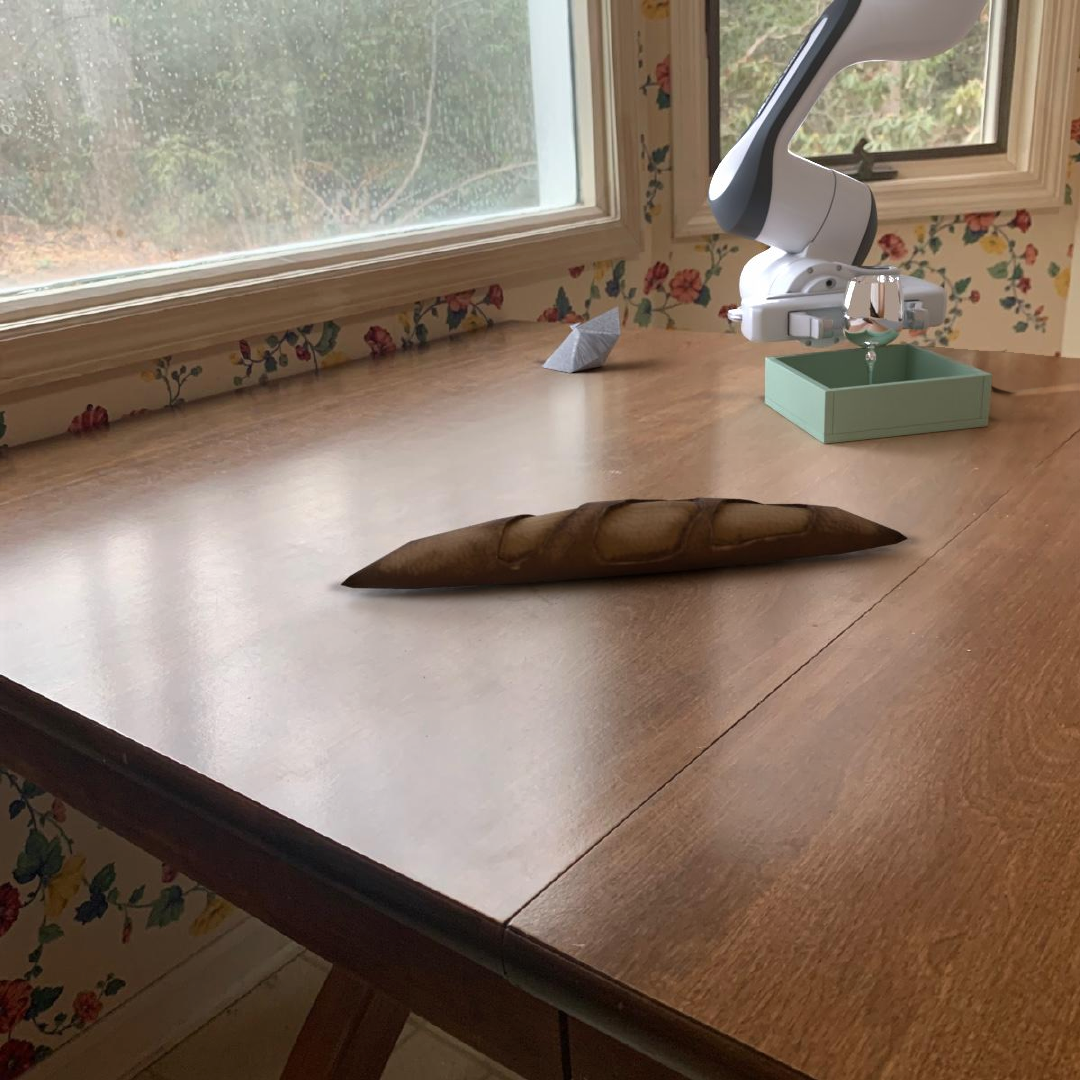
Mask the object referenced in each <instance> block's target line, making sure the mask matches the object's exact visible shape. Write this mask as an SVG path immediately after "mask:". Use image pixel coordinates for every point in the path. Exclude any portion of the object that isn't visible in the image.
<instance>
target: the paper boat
mask: <svg viewBox="0 0 1080 1080" xmlns="http://www.w3.org/2000/svg"><path fill="white" fill-rule="evenodd" d="M619 310H620V309H619V306H615V307H614V308H612V309H610V310H607V311H606V312H604V313H601V314H599V315H598V316H596V317H594V318H592V319H590V320H588V321H586V322H584V323H582V321H579V322H577V323H575V324H571V325H569V327H570V329H571V330H572V331H571V332H570V333H569V334H568V335H567V337H566V338H565V339H564V340H563V341H562V342H561V343H560V345H559V346H558V347H557V348H556V349H555V351H554V352H553V353H551V355H550V356H549V357H548V358H547V360H546V361H545V362H544V363H543V364H542V365H541V368H544V369H549V370H554V371H558V372H564V373H568V374H572V373H576V372H582V371H585V370H592V369H595V368H600V367H604V364H605V363H606V361H607V359H608V357H609V356H610V354H611V352H612V351H613V349H614V347H615V346H616V344H617V341H618V340H619V338H620V336H621V323H620V311H619Z"/></svg>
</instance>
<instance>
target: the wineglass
mask: <svg viewBox="0 0 1080 1080" xmlns="http://www.w3.org/2000/svg"><path fill="white" fill-rule="evenodd" d="M904 320H905V301H904V294H903V288H902V283H901V279H900V278H899V277H894V276H861V277H854V278H851V279H849V280H848V283H847V286H846V289H845V293H844V297H843V302H842V307H841V327H842V332H843V334H844V335H845V337H846V338H847V339H848V340H847V341H848V342H850V343H852V344H853V345H856V346H858V347H859V348H867V349H868V352H867V353H866V357H865V363H866V367H867V385H872V374H873V369H874V365H875V362H876V354H875V352H874V349H875V348H878V347H882V346H886V345H889V344H891V343H892V342H894V341H895V340H897V338H898V337H899V336H900V334H901V333H902V331H903V330H902V328H903V325H904Z"/></svg>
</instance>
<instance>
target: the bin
mask: <svg viewBox="0 0 1080 1080" xmlns="http://www.w3.org/2000/svg"><path fill="white" fill-rule="evenodd" d="M867 352H868V349H867V348H863V347H856V348H846V349H836V350H826V351H824V350H823V351H815V352H805V353H795V354H786V355H774V356H766V357H765V358H764V359H765V361H764V370H765V371H764V404H765V405H766V406H768V407H769V408H771V409H772V410H774V411H775V412H776V413H778V414H779V415H781V416H782V417H784V418H785V419H787V420H788V421H790V422H791V423H793V424H794V425H796V426H797V427H798V428H799V429H801V430H803V431H804V432H806V433H807V434H808V435H810V436H811V437H813V438H814V439H816V440H817V441H819V442H820V443H822V444H824V445H827V444H834V443H835V444H836V443H846V442H855V441H863V440H865V441H866V440H873V439H882V438H883V439H884V438H892V437H900V436H910V435H918V434H919V435H920V434H929V433H938V432H947V431H948V432H949V431H956V430H965V429H966V430H967V429H975V428H984V427H985V428H986V427H989V421H990V419H989V418H990V409H991V394H992V383H993V373H990V372H988V371H984V370H982V369H979V368H978V367H975V366H972V365H969V364H967V363H964V362H962V361H959V360H956V359H954V358H951V357H948V356H946V355H943V354H941V353H938V352H936V351H933V350H931V349H928V348H925V347H923V346H920V345H918V344H915V343H912V342H908V343H896V344H890V345H889V344H887V345H884V346H882V347H878V348H875V349H874V352H875V354H876V362H875V365H874V369H873V374H872V385H867V367H866V363H865V357H866V353H867Z"/></svg>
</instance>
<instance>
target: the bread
mask: <svg viewBox="0 0 1080 1080" xmlns="http://www.w3.org/2000/svg"><path fill="white" fill-rule="evenodd" d="M907 540H909V538H908V536H906V535H904V534H903V533H901V532H900V531H898V530H896V529H894V528H891V527H889V526H885V525H883V524H881V523H878V522H876V521H873V520H870V519H868V518H866V517H863V516H861V515H858V514H855V513H853V512H850V511H847V510H845V509H842V508H840V507H837V506H832V505H831V506H830V505H820V504H819V505H818V504H809V503H762V502H758V501H755V500H751V499H743V498H730V497H729V498H728V497H727V498H726V497H701V496H699V497H698V496H697V497H695V498H685V499H684V498H683V499H672V500H669V499H663V498H662V499H659V498H658V499H656V498H655V499H651V498H649V499H648V498H647V499H646V498H643V499H641V498H640V499H639V498H626V499H625V498H624V499H614V500H613V499H612V500H602V501H601V500H600V501H590V502H589V501H588V502H584V503H582V504H580V505H579V506H578V507H576V508H571V509H565V510H559V511H555V512H550V513H544V514H540V515H536V514H529V513H525V514H524V513H523V514H517V515H511V516H505V517H501V518H496V519H491V520H487V521H485V522H484V521H483V522H480V523H476V524H471V525H468V526H464V527H460V528H457V529H452V530H448V531H444V532H440V533H437V534H433V535H432V534H431V535H428V536H425V537H420V538H416V539H413V540H409V541H408V542H406V543H405V544H402V545H401V546H399V547H397V548H396V549H394V550H392V551H390V552H389V553H387V554H385V555H383V556H381V557H380V558H378V559H376V560H374V561H372V562H371V563H370V564H368V565H366V566H364V567H363V568H361V569H359V570H357V571H356V572H353V573H351V574H350V575H349V576H348V577H347V578H345V580H343V582H341V583H340V586H343V587H347V588H350V589H371V590H372V589H375V590H377V589H378V590H424V589H442V588H461V587H479V586H496V585H497V586H498V585H511V584H512V585H513V584H524V583H526V584H527V583H538V582H539V583H541V582H542V583H543V582H555V581H568V580H569V581H571V580H584V579H596V578H608V577H610V578H611V577H621V576H631V575H646V574H656V573H659V574H660V573H668V572H680V571H690V570H701V569H712V568H723V567H732V566H745V565H754V564H763V563H772V562H773V563H774V562H781V561H792V560H800V559H809V558H810V559H811V558H819V557H828V556H838V555H843V554H850V553H853V552H859V551H866V550H872V549H877V548H881V547H882V548H883V547H887V546H892V545H897V544H900V543H902V542H904V541H907Z"/></svg>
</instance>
